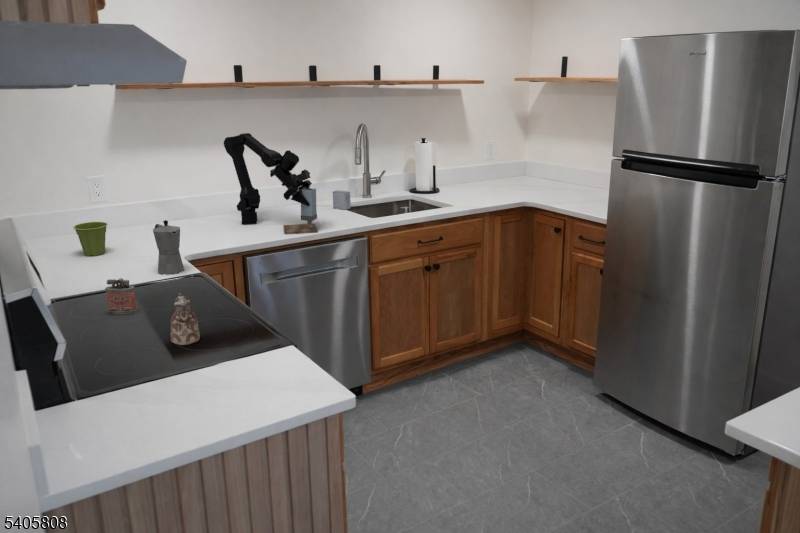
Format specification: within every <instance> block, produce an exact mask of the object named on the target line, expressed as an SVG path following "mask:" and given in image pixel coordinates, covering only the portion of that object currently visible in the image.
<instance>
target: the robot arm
mask: <svg viewBox="0 0 800 533" xmlns="http://www.w3.org/2000/svg"><path fill="white" fill-rule="evenodd" d="M223 146H224V149H225V152H226V153H227V154H228V156H230V157H231V160H232V162H233V166H234V170H235V172H236V176H237V180H238V183H239V186H240V192H239V199H240V200H239V201H238V203H237V205H236V209H237V211H238V212H240V214H241V215H240V216H241V225H254V224H257V222H258V212H257V211H256V210H257V209H258V210H259V207H260V202H261V195H260V193H259V189H258V188H255V187H254V186H253V184H252V181H251V178H250V175H249V172H248V167H247V164H246V161H245V158H244V153H245V149H246V148H245V147H247V148H249V149H250V150H251V151H253V153H255V155H257V156H259V158H260V160H261V162H262V164H263V165H264V166H265V167H266V168H273V167H274V168H273V169H270V171H269V172H270V174H269V175H270V177H271V178H273V177H276V178H277V179H278V180H279V181H280V183H281V186H282V187H285V188H286V191H285V192H284V193H283V198H284V199H285V200H286V201H288V200H290V201H294V202H297V203H299V204H301V203H302V204H304V205H306V206H309V205H310V204H309V202H308V201H307V199H306V198H305V197H304V195H303V194H302V189H304V188H310V187H311V185H312V182H311V180H310V178H311V176H310V174H311V172H310V171H309V170H307V169H306V168H305V169H303V170H301V172H300V173H299V174H296V173H292V172H291V171H292V170H294V169H295V167H296V166H297V164H298V163H299V162H300V158H299V156H298V155H297V154H295V153H294V152H292V151H291V150H286V151H285V152H284V153H283V155H282V154H281V153H280V152H278V151H276V150H274V149H270V148H268V147H266V145H264V144H263V143H261V142H260V141H259V140H258V139H256V138H255V137H254V136H253V135H252V134H251V133H249V132H246V133H245V132H243V133H240V134H238V135H234V136H227V137H226V138H224V139H223Z"/></svg>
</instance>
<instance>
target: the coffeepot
mask: <svg viewBox="0 0 800 533" xmlns="http://www.w3.org/2000/svg"><path fill="white" fill-rule="evenodd" d="M152 232H153V235H154V240H155V243H156V247H157V250H158V260H157V261H158V262H157V273H158V274H159V273H160V274H159V275H163V274H171V275H176V274H175V273H177V274H179V272H181V273H182V271H183V272H184V271H185V267H184V264H183V260H182V257H181V253H180V252H181V251H180V245H181V244H180V243H181V242H180V240H181V227H180V226H177V225H176V226H175V225H169V220H166V219H165V220H163V224H159V223H156V224H155V226H154V228H153V229H152Z"/></svg>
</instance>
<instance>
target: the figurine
mask: <svg viewBox="0 0 800 533" xmlns="http://www.w3.org/2000/svg"><path fill="white" fill-rule="evenodd" d="M173 306H174V312H173V314H172V315H171V318H170V341H171V343H174V344H176V345H179V346H185V345H191V344H193V343H196V342H199V341H200V337H201V335H200V329H199V323H198V317H197V316H196V313H195V312H194V311H193V310H191V300H190V299H189V298H188V297H187V296H185V295H183V293H181V292H179V293H178V294H177V297H176V298H175V299H174V302H173Z"/></svg>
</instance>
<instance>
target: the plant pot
mask: <svg viewBox="0 0 800 533" xmlns="http://www.w3.org/2000/svg"><path fill="white" fill-rule="evenodd" d="M107 226H108V223H107V222H106V221H91V222H90V221H88V222H82V223H78V224H76V225H73V226H72V227H73V230H75V232H76V235H77V237H78V240H79V243H80V245H81V248H82V251H83V255H84V256H87V257H90V256H92V257H97V256H101V255H103V254H104V253H105V252H106V232H107Z"/></svg>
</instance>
